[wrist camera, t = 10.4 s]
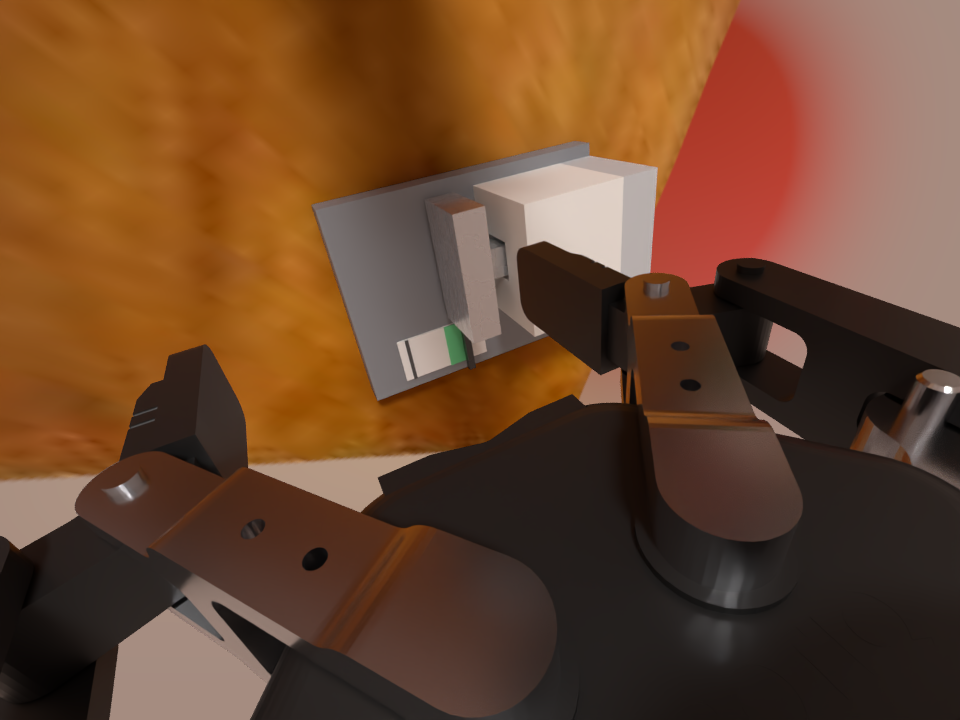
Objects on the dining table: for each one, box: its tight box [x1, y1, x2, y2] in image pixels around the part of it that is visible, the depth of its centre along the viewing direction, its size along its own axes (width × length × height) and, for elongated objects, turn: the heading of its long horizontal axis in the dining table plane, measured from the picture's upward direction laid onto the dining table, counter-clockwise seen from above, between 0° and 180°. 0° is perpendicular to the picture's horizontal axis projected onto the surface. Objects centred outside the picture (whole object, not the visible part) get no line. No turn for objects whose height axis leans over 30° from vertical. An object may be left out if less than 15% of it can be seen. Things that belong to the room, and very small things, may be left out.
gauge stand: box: [311, 141, 658, 401], centre depth 38 cm, size 17×23×10 cm
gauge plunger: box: [424, 192, 508, 370], centre depth 38 cm, size 16×11×6 cm
